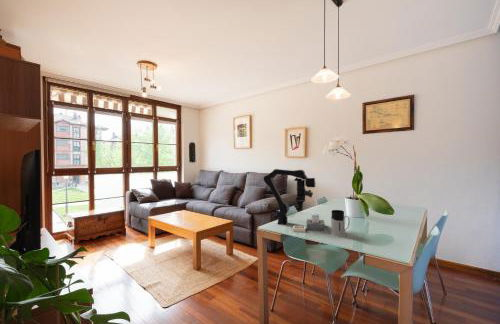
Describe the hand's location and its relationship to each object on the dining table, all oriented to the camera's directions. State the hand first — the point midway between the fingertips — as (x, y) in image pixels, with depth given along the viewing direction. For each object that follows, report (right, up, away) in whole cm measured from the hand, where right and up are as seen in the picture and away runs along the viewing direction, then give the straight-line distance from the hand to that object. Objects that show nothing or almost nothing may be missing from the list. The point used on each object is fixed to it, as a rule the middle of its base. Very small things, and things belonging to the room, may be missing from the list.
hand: (301, 208), depth 173 cm
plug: (+9, -12, -7) cm, 17 cm away
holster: (-4, -13, -12) cm, 18 cm away
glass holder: (+20, -13, -25) cm, 34 cm away
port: (+9, -12, -7) cm, 17 cm away
